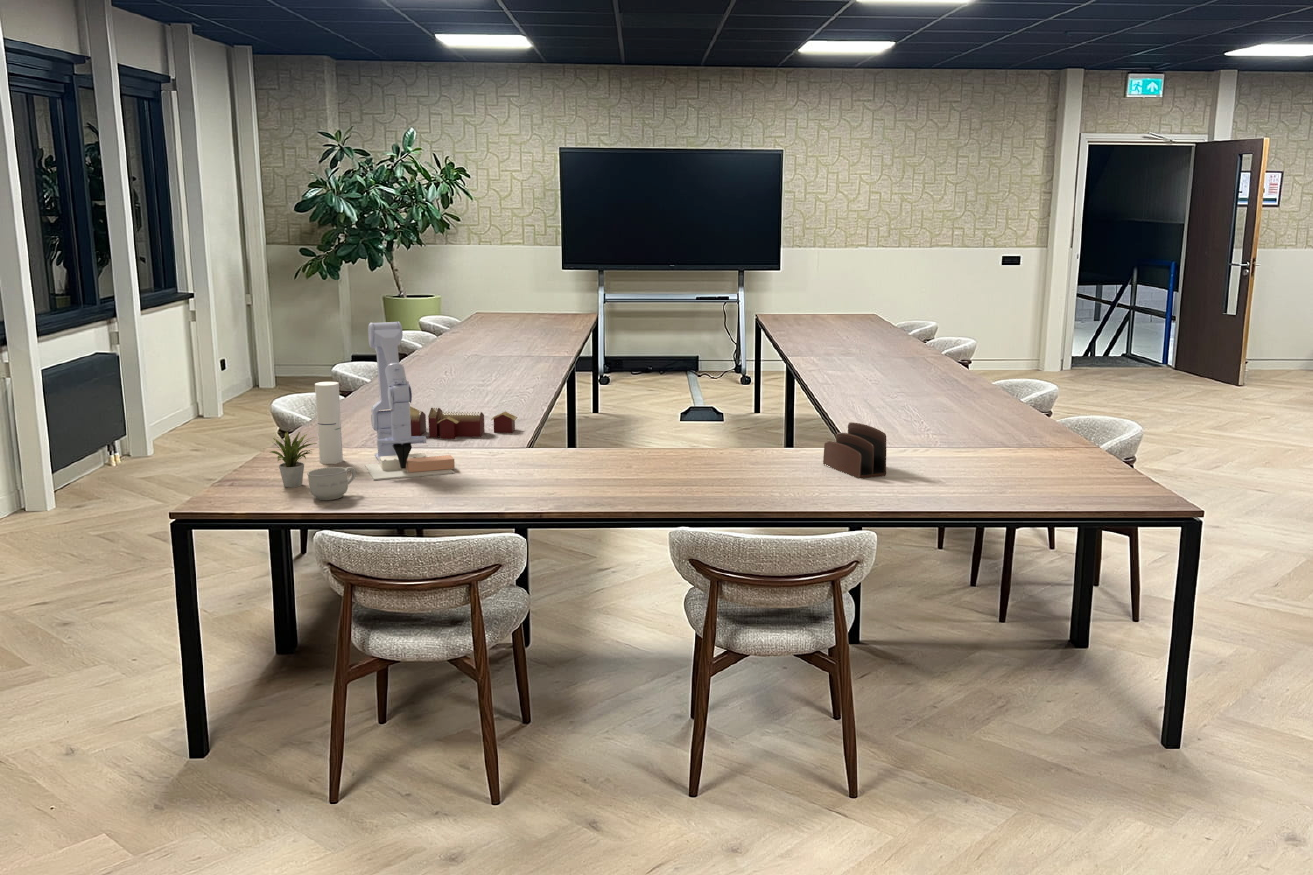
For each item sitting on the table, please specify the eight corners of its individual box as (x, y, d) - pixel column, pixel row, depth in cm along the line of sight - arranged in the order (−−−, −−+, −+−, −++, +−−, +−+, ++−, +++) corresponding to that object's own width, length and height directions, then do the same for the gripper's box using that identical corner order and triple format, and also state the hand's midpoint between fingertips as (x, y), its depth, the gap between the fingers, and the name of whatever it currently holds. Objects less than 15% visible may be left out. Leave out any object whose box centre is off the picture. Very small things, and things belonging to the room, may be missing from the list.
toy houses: (381, 438, 393) (379, 410, 391) (396, 426, 413) (395, 399, 411) (509, 440, 391) (509, 412, 389) (519, 428, 411) (518, 401, 409)
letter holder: (848, 462, 362) (850, 419, 359) (886, 476, 345) (888, 431, 342) (822, 465, 358) (824, 421, 355) (859, 479, 341) (861, 433, 338)
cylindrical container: (316, 460, 360) (311, 383, 355) (337, 457, 364) (333, 380, 359) (324, 464, 355) (319, 386, 349) (346, 461, 359) (342, 384, 353)
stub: (405, 468, 348) (405, 458, 347) (450, 464, 353) (450, 455, 353) (408, 472, 343) (408, 462, 342) (454, 468, 348) (454, 458, 348)
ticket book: (379, 466, 351) (379, 456, 351) (424, 462, 357) (424, 452, 356) (382, 470, 346) (382, 460, 345) (428, 466, 351) (428, 456, 351)
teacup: (316, 505, 310) (315, 476, 308) (303, 496, 318) (301, 468, 317) (365, 497, 318) (364, 469, 316) (351, 489, 327) (349, 462, 325)
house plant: (302, 494, 321) (298, 437, 317) (257, 491, 324) (253, 435, 320) (326, 481, 335) (323, 427, 331) (283, 479, 337) (279, 425, 334)
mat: (364, 466, 353) (364, 464, 353) (441, 459, 362) (441, 458, 362) (373, 480, 336) (373, 478, 336) (454, 473, 345) (454, 471, 345)
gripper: (378, 428, 336) (380, 472, 339) (427, 424, 341) (429, 468, 344) (375, 423, 342) (377, 467, 345) (423, 420, 347) (425, 463, 350)
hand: (403, 467), depth 345 cm, fingers closed
